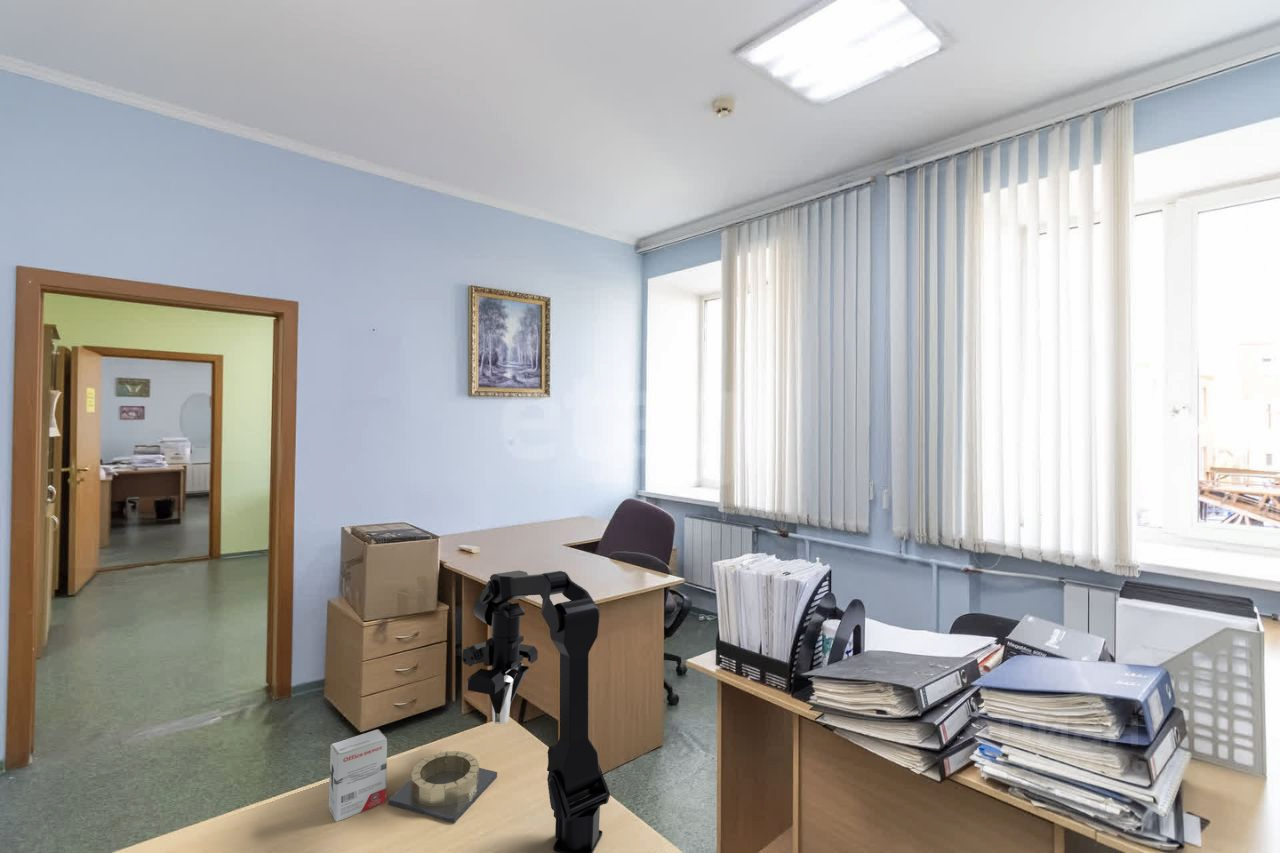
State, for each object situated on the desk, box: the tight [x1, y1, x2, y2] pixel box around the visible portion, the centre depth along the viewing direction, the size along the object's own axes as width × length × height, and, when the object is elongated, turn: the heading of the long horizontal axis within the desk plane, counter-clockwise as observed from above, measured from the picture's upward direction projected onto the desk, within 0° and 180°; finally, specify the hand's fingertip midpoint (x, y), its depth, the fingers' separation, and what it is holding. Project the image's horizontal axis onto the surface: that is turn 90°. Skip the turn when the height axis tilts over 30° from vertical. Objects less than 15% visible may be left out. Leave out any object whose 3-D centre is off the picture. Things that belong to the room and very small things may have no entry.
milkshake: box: [491, 674, 517, 725], centre depth 120 cm, size 5×5×10 cm
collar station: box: [387, 750, 498, 824], centre depth 110 cm, size 14×14×4 cm
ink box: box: [328, 729, 388, 823], centre depth 105 cm, size 8×5×12 cm, turn 133°
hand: (503, 708), depth 120 cm, fingers closed on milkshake, 4 cm apart
